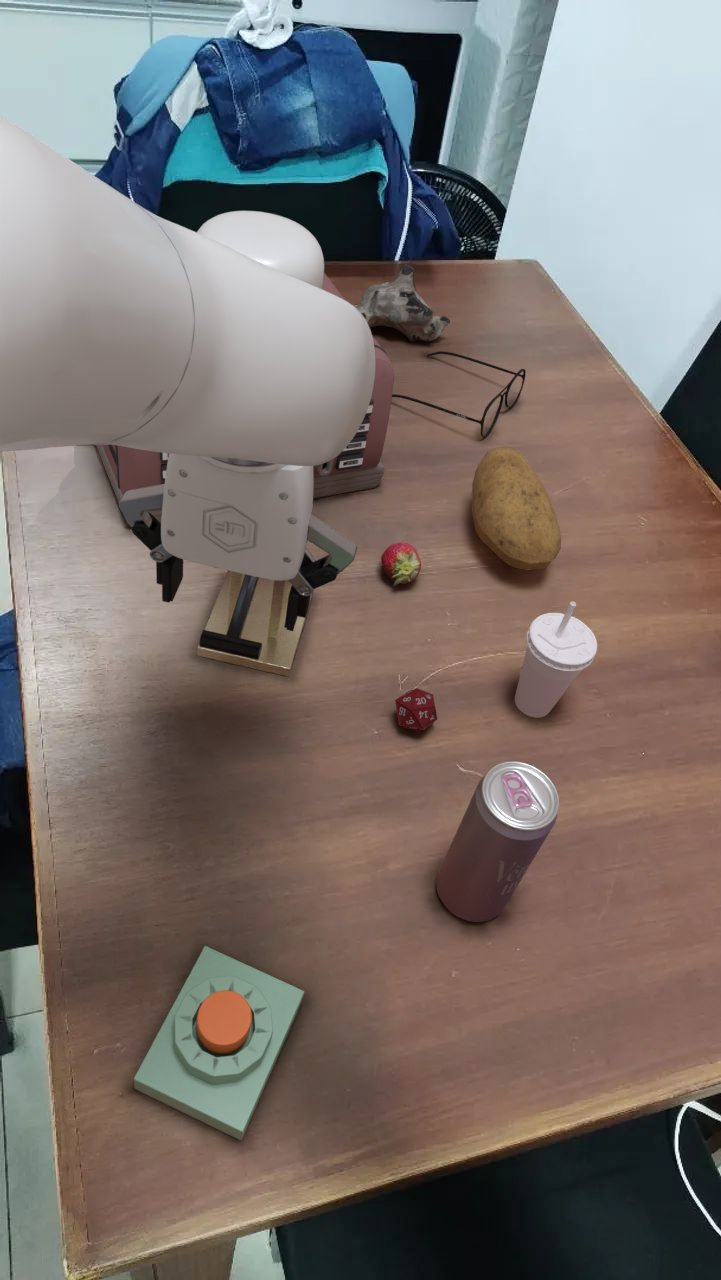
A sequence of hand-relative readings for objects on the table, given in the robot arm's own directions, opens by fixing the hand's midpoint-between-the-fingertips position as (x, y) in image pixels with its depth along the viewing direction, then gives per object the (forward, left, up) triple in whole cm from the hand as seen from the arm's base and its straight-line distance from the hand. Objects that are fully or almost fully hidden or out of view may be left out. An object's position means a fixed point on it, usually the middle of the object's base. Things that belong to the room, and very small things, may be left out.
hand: (232, 604), depth 71 cm
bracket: (+12, +2, -15) cm, 19 cm away
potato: (+37, -17, -16) cm, 43 cm away
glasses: (+62, -3, -16) cm, 64 cm away
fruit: (+26, -8, -16) cm, 31 cm away
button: (-25, -13, -12) cm, 30 cm away
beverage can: (-6, -26, -16) cm, 31 cm away
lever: (+7, +1, -5) cm, 8 cm away
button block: (-25, -13, -15) cm, 32 cm away
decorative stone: (+73, +10, -16) cm, 75 cm away
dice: (+8, -16, -16) cm, 23 cm away
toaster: (+38, +20, -15) cm, 45 cm away
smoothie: (+16, -26, -16) cm, 34 cm away
